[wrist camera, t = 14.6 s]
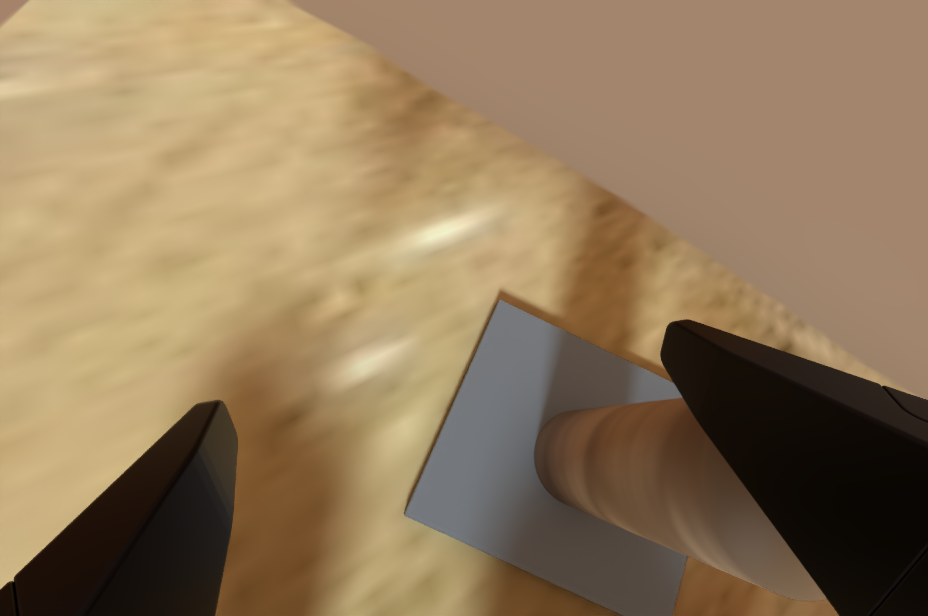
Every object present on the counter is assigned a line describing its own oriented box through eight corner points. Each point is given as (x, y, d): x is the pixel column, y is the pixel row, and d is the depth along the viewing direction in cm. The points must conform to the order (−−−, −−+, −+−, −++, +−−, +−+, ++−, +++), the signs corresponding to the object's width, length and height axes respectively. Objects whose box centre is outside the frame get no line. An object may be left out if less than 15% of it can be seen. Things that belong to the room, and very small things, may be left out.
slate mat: (659, 630, 21) (667, 636, 21) (404, 512, 21) (404, 515, 20) (718, 408, 25) (725, 407, 24) (497, 302, 24) (499, 299, 24)
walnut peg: (639, 466, 22) (919, 506, 10) (574, 528, 21) (805, 652, 9) (582, 392, 23) (787, 349, 11) (515, 448, 22) (662, 469, 10)
